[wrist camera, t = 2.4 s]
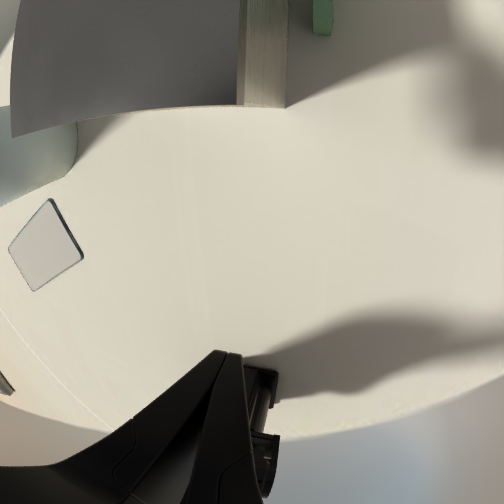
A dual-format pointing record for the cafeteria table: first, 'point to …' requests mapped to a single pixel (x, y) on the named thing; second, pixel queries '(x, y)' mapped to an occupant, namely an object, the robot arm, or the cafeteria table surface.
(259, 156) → the cafeteria table surface
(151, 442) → the robot arm
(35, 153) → the round-topped grey cylinder
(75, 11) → the tin
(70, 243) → the smartphone
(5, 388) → the emblem
